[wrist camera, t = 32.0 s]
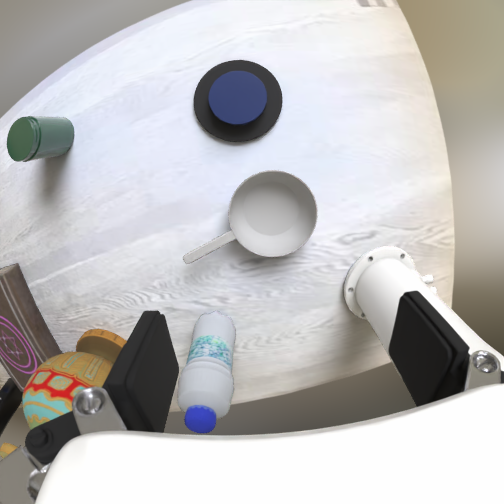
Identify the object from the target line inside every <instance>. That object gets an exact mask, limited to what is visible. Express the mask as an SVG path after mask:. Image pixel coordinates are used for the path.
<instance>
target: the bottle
mask: <svg viewBox="0 0 504 504" xmlns="http://www.w3.org/2000/svg"><path fill="white" fill-rule="evenodd" d="M235 337H236V329H235V327H234V324H233V322H232V319H231V318H230V317H229V316H228V315H226V316H224V315H222V314H220V312H219V311H214V312H212V313H210V314H207V313H204V314H203V315H201V316H200V318H199V319H198V321H197V322H196V325H195V327H194V331H193V338H192V344H191V347H190V351H189V355H188V359H187V363H186V367H184V369H183V370H182V372H181V376H180V378H179V381H178V400H177V401H178V405H179V407H180V409H181V410H182V411H183V412H184V413H186V414H185V425H186V426H187V427H188V428H189V429H190V430H191V431H194V432H197V433H208V432H210V431H212V430H213V429H214V427H215V424H216V419H219V418H222V417H223V416H225V415H226V414H227V413H228V411H229V408H230V404H231V399H232V396H233V392H234V386H233V385H234V379H233V376H232V361H233V349H234V343H235Z"/></svg>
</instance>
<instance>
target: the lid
mask: <svg viewBox="0 0 504 504" xmlns="http://www.w3.org/2000/svg"><path fill="white" fill-rule="evenodd" d="M266 103H267V92H266V89H265V86H264V84H263V83H262V82H261V80H260V79H259V78H258V77H256V76H255V75H253V74H251V73H248V72H245V71H232V72H228V73H226V74H224V75H222V76H220V77H219V78H218V79H217V80H216V81H215V82H214V83H213V85H212V86H211V89H210V92H209V104H210V105H209V106H210V107H211V110H212V111H213V113H214V115H215V116H217V117H218V118H219V119H220V120H222V121H223V122H225V123H228V124H232V125H234V126H235V125H244V124H245V125H246V124H248V123H250V122H252V121H254V120H256V119H257V118H258V117H259V116H260V115H261V113H262V112H263V110H264V108H265V105H266Z"/></svg>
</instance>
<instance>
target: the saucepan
mask: <svg viewBox="0 0 504 504" xmlns="http://www.w3.org/2000/svg"><path fill="white" fill-rule="evenodd" d="M228 216H229V224H230V228H231V230H230V231H228V232H226V233H224V234H223V235H221V236H219V237H217V238H215V239H213V240H211V241H210V242H208V243H206V244H204V245H202V246H200V247H198V248H197V249H195V250H193V251H191V252H189V253H187V254H186V255H184V256H183V260H184V262H185V263H186V264H190V263H192V262H194V261H196V260H198V259H199V258H201V257H203V256H205V255H207V254H209V253H211V252H213V251H214V250H216V249H218V248H220V247H222V246H224V245H226V244H228V243H230V242H232V241H233V240H235V239H237V240H238V242H239V243H240V244H241V245H242V246H243V247H245V248H246V249H247V250H249V251H251V252H253V253H255V254H257V255H261V256H266V257H279V256H284V255H287V254H290V253H292V252H294V251H296V250H298V249H299V248H300V247H302V246H303V245H304V244H305V243H306V242H307V241H308V239H309V238H310V236H311V235H312V233H313V231H314V229H315V226H316V222H317V204H316V200H315V198H314V195H313V193H312V192H311V190H310V188H309V187H308V186H307V185H306V184H305V183H304V182H303V181H302V180H301V179H299V178H298V177H296V176H294V175H292V174H290V173H287V172H284V171H278V170H268V171H263V172H259V173H256V174H254V175H252V176H250V177H249V178H247V179H246V180H245V181H244V182H242V183H241V184H240V185H239V187H238V188H237V189H236V191H235V192H234V194H233V196H232V198H231V201H230V205H229V212H228Z"/></svg>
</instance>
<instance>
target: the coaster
mask: <svg viewBox="0 0 504 504" xmlns="http://www.w3.org/2000/svg"><path fill="white" fill-rule="evenodd" d="M232 71H245V72H248V73H251V74H253V75H255V76H256V77H258V78H259V79H260V80H261V82H262V83H263V84H264V86H265V89H266V92H267V103H266V105H265V108H264V110H263V112H262V113H261V115H260V116H259V117H258V118H257V119H256V120H254V121H252V122H250V123H248V124H246V125H245V124H244V125H235V126H234V125H232V124H228V123H225V122H223V121H222V120H220V119H219V118H218V117H217V116H215V115H214V113H213V111H212V110H211V107H210V106H209V105H210V104H209V92H210V89H211V86H212V85H213V83H214V82H215V81H216V80H217V79H218V78H219V77H220V76H222V75H224V74H226V73H228V72H232ZM194 108H195V112H196V115H197V118H198V120H199V121H200V123H201V124H202V126H203V127H204V128H205V129H206V130H207V131H208V132H210V133H211V134H213V135H214V136H216V137H218V138H221V139H223V140H227V141H234V142H241V141H248V140H251V139H254V138H257V137H259V136H261V135H262V134H264V133H265V132H267V131H268V130H269V129H270V128H271V127H272V126H273V125H274V123H275V122H276V120H277V119H278V117H279V114H280V112H281V108H282V92H281V89H280V86H279V84H278V82H277V80H276V78H275V77H274V76H273V75H272V74H271V73H270V72H269V71H268V70H267V69H266V68H264V67H263V66H261V65H259V64H257V63H254V62H250V61H245V60H233V61H228V62H224V63H221V64H219V65H217V66H215V67H213V68H212V69H211V70H209V71H208V72H207V73H206V74H205V75H204V76H203V77H202V79H201V80H200V82H199V83H198V86H197V88H196V91H195V95H194Z"/></svg>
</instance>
